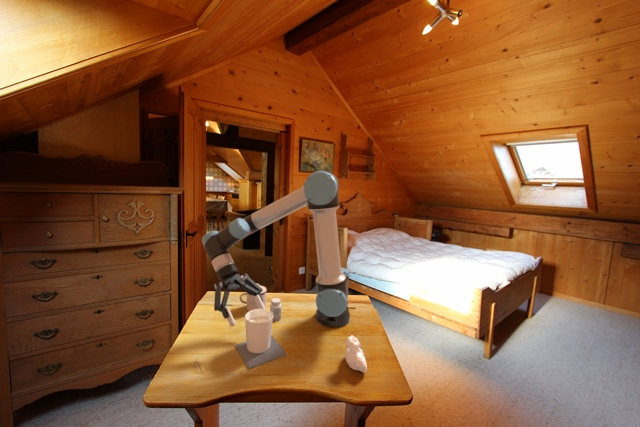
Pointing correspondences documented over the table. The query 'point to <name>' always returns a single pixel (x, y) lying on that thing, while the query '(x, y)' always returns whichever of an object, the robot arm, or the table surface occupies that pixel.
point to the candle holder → (258, 330)
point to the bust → (355, 355)
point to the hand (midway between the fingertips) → (249, 318)
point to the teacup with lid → (250, 299)
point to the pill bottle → (276, 309)
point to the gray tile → (260, 354)
